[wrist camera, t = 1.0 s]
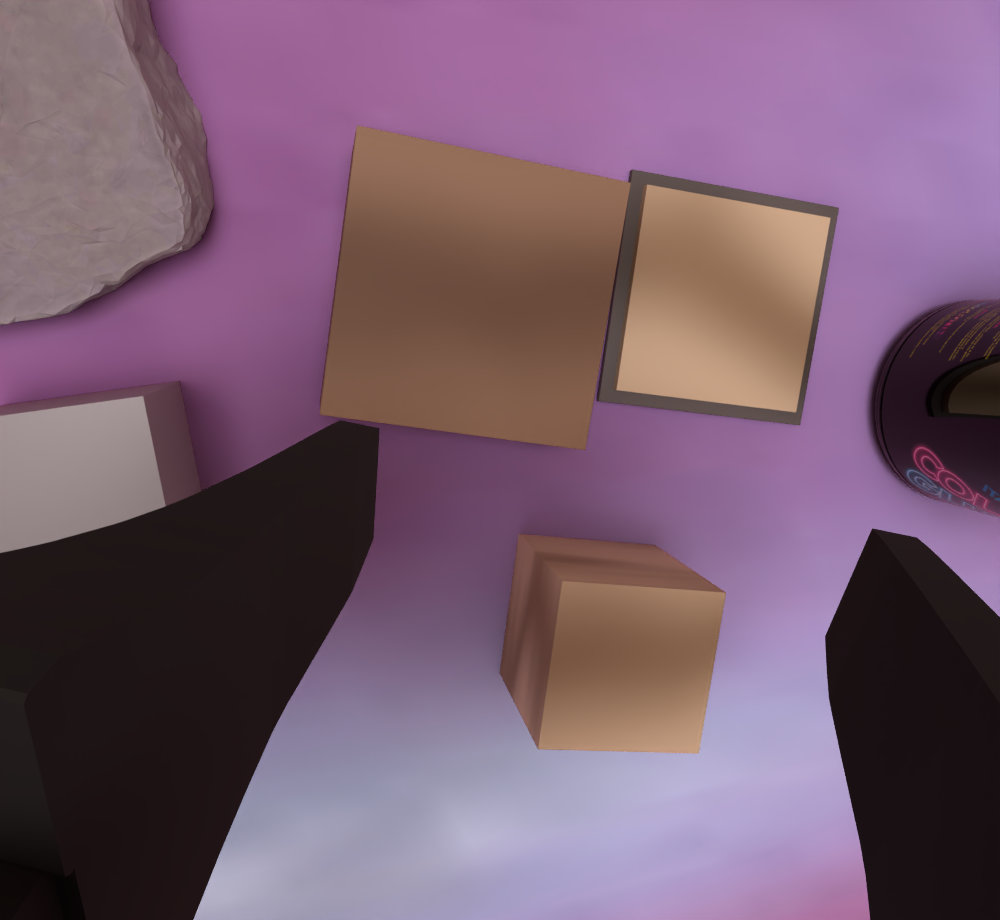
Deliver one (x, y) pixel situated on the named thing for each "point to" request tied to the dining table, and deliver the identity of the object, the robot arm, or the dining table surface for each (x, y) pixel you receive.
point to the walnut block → (471, 291)
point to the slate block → (91, 461)
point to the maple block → (609, 645)
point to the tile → (715, 300)
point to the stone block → (91, 153)
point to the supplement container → (946, 406)
